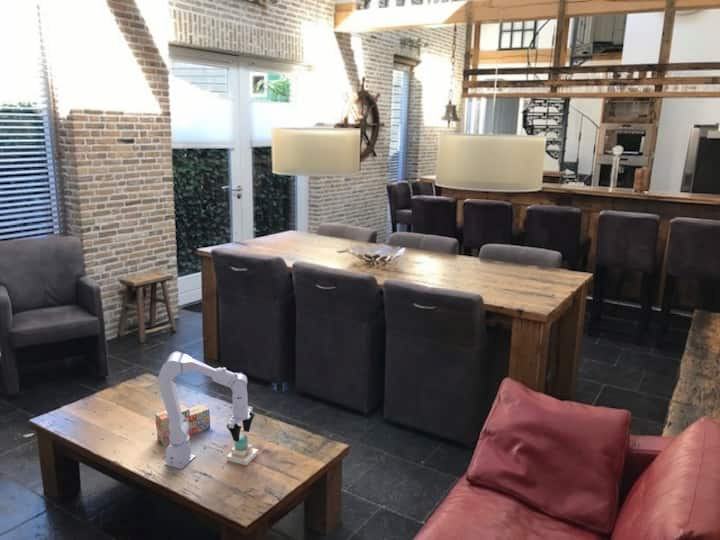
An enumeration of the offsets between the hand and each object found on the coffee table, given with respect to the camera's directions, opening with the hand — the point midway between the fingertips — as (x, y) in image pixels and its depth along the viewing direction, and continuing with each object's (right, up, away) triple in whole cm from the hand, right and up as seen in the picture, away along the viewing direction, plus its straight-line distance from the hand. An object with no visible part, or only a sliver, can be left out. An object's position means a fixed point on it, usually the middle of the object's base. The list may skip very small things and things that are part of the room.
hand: (241, 435), depth 236 cm
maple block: (0, -7, +2) cm, 8 cm away
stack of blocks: (-28, -5, +19) cm, 34 cm away
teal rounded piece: (0, -5, +1) cm, 5 cm away
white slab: (0, -10, +3) cm, 10 cm away
